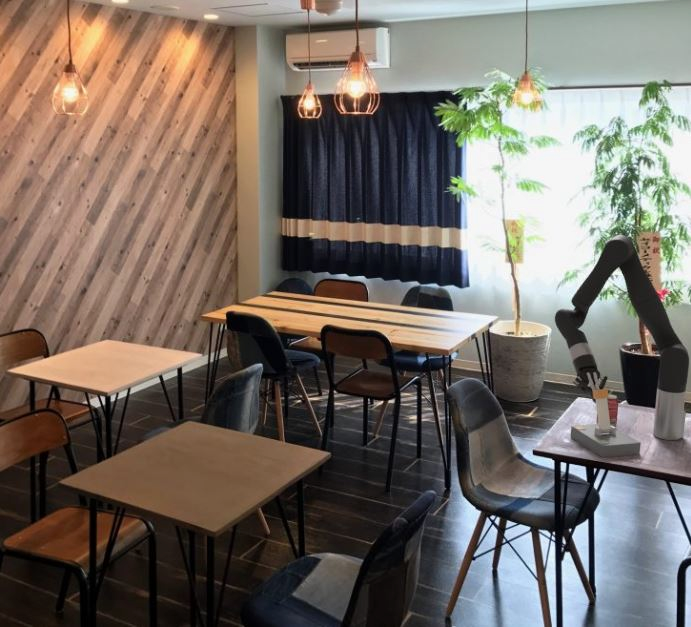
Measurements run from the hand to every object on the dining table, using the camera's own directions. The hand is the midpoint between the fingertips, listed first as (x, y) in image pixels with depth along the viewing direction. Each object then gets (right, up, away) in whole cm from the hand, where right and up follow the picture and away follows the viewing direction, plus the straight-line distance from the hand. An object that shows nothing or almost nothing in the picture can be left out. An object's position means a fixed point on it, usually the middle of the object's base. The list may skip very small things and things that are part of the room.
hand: (598, 402), depth 277 cm
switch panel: (+1, -14, -2) cm, 15 cm away
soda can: (+8, -11, +16) cm, 21 cm away
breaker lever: (+1, -9, -3) cm, 10 cm away
